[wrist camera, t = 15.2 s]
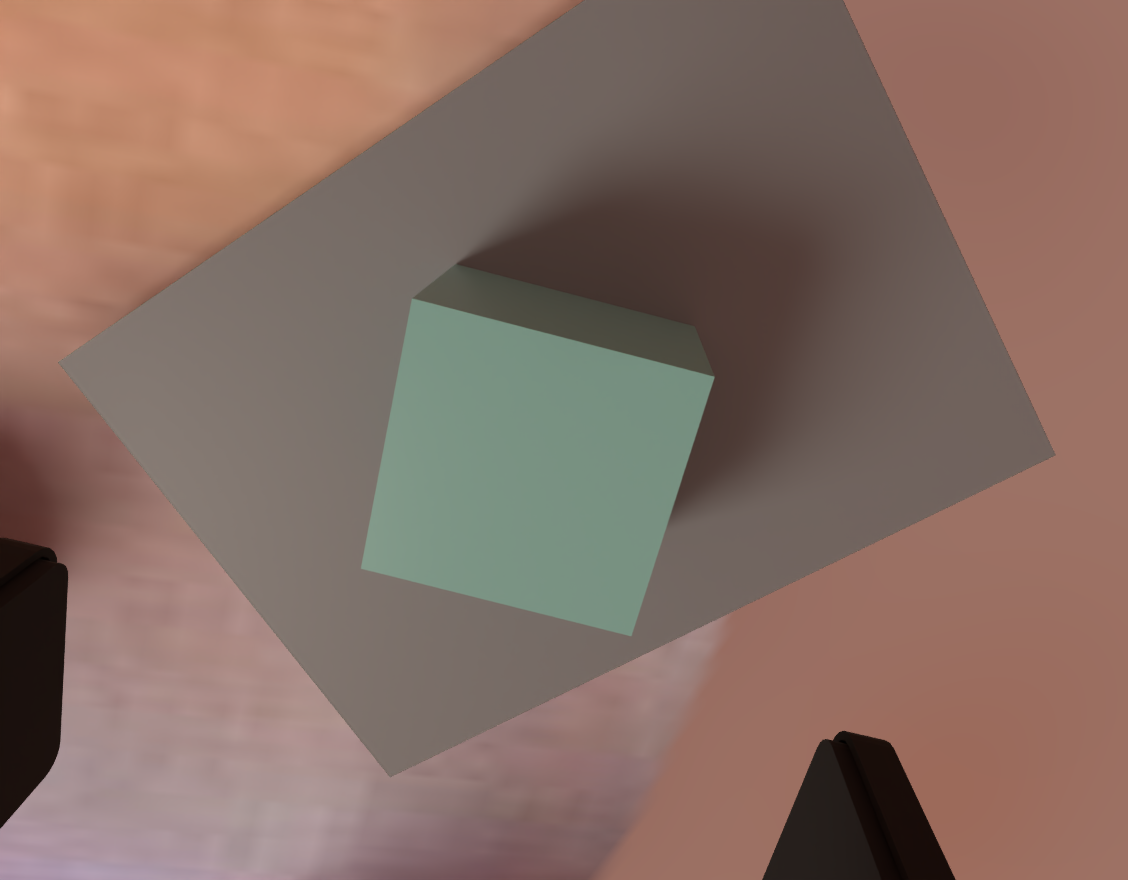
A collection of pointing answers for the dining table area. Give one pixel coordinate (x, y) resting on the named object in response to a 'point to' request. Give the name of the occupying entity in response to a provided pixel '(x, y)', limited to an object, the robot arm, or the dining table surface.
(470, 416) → the seafoam cuboid
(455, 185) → the post base
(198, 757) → the dining table surface
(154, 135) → the dining table surface
